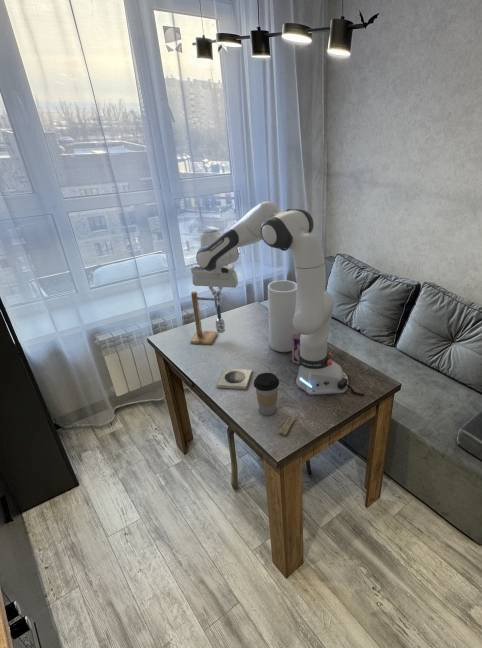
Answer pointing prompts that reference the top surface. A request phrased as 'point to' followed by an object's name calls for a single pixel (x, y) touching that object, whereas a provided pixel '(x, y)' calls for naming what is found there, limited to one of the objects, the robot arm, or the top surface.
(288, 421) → the snack bar
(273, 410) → the coffee cup
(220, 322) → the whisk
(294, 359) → the greeting card
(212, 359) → the top surface
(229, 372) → the hot plate
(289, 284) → the vase
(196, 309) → the hook stand
